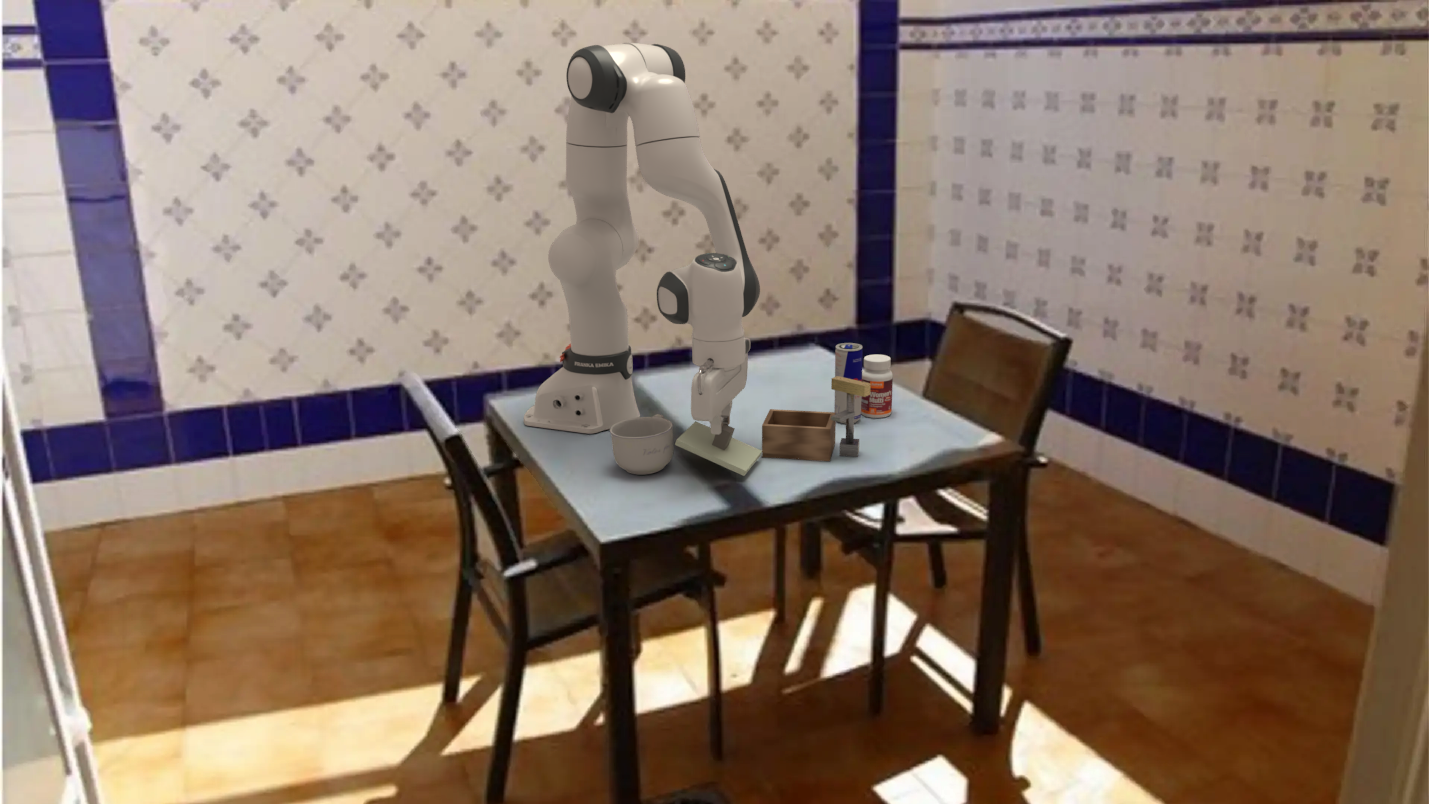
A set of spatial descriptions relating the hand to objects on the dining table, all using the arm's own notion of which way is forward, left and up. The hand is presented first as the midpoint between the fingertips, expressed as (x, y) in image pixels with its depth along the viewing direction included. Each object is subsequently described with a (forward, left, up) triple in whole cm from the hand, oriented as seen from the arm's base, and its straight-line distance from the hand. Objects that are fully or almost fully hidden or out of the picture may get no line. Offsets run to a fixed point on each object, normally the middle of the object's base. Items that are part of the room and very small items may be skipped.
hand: (720, 429), depth 203 cm
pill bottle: (+24, +33, -7) cm, 42 cm away
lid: (0, 0, -4) cm, 4 cm away
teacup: (-13, -1, -7) cm, 15 cm away
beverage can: (+19, +28, -7) cm, 35 cm away
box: (+12, +10, -7) cm, 18 cm away
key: (+20, +9, -5) cm, 23 cm away
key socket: (+21, +10, -7) cm, 25 cm away
